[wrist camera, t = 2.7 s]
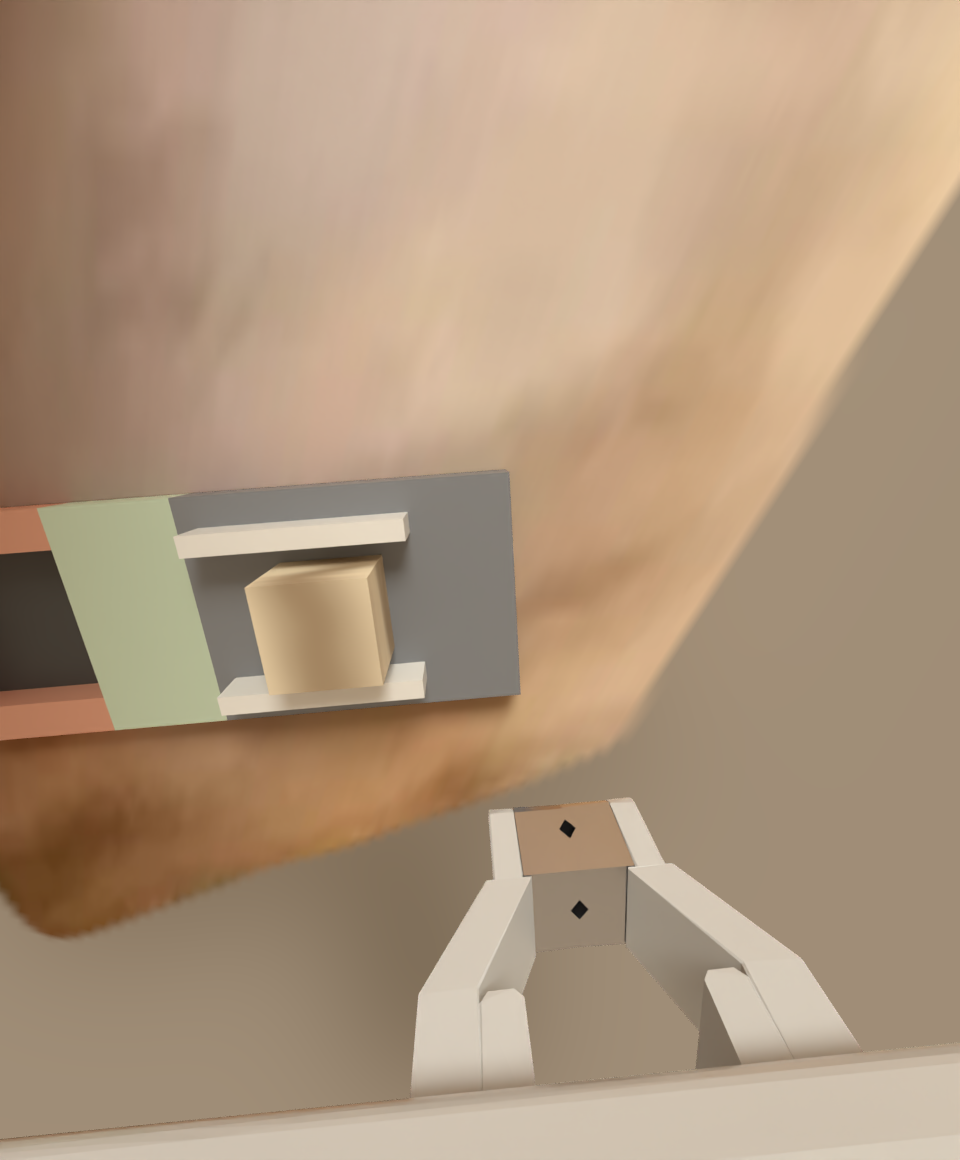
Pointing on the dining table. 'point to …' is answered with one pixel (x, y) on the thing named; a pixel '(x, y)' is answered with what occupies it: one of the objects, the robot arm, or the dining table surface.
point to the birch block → (322, 624)
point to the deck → (412, 571)
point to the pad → (135, 609)
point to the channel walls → (297, 535)
